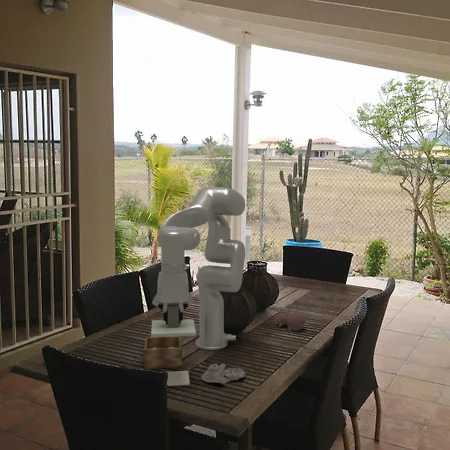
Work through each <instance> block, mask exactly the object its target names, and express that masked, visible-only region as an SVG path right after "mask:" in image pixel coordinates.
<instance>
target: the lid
mask: <svg viewBox="0 0 450 450" xmlns="http://www.w3.org/2000/svg"><path fill="white" fill-rule="evenodd" d="M179 308H180V307H179V303H178V304H172V303H167V311H168V324H167V325H166V321H164V319H158V320H157V319H155V320H154V319H153V320H151V332H150V337H166V336H180V337H190V336H192V337H193V336H194V337H195V336H197V330H196V328H195V321H194V319H192V318H191V319H190V318H188V319H184V318H183V321H181V324H179Z"/></svg>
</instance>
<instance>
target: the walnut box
mask: <svg viewBox="0 0 450 450" xmlns="http://www.w3.org/2000/svg"><path fill="white" fill-rule="evenodd" d="M181 337H182V336H166V337H151V336H145V337H144V348H143V353H144V354H143V358H144V370H155V369H179V368H183V362H182V361H183V359H182V358H183V356H182V355H183V354H182V353H183V350H182V349H183V348H182V347H183V346H182V338H181ZM169 347H173V348H169ZM153 348H157V349H153Z"/></svg>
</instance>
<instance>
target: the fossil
mask: <svg viewBox="0 0 450 450" xmlns="http://www.w3.org/2000/svg"><path fill="white" fill-rule="evenodd" d="M226 367H227V366H226V364H225V363H221V364H220V365H218V363H213V364H210V365H209V366H208V368H207V369H206V371H205V372H204V373H202V374H201V375H200V379H201V380H202V381H203V382H206V383H213V384H214V383H217V384H221V385H224V384H228V383H230V382H232V381H239V379H241V378H242V379H243V378H245V376H246V371H245V370H244V369H243V368H240V367H229V368H226Z"/></svg>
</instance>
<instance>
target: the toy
mask: <svg viewBox="0 0 450 450" xmlns="http://www.w3.org/2000/svg"><path fill="white" fill-rule="evenodd" d="M274 322H275V325H276V326H278V328H280V327H283V326H286V325H287V329H288V330H289V331H290V332H292V331H295V332H297V331H300V330H302V328H303V327H304V326H305V323H306V320H305V317H304V315H302V314H301V313H299V312H291V313H289V312H288V313H287V314H286V313H283V312H280V313H278V314H277V315H276V316H275V319H274Z"/></svg>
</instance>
